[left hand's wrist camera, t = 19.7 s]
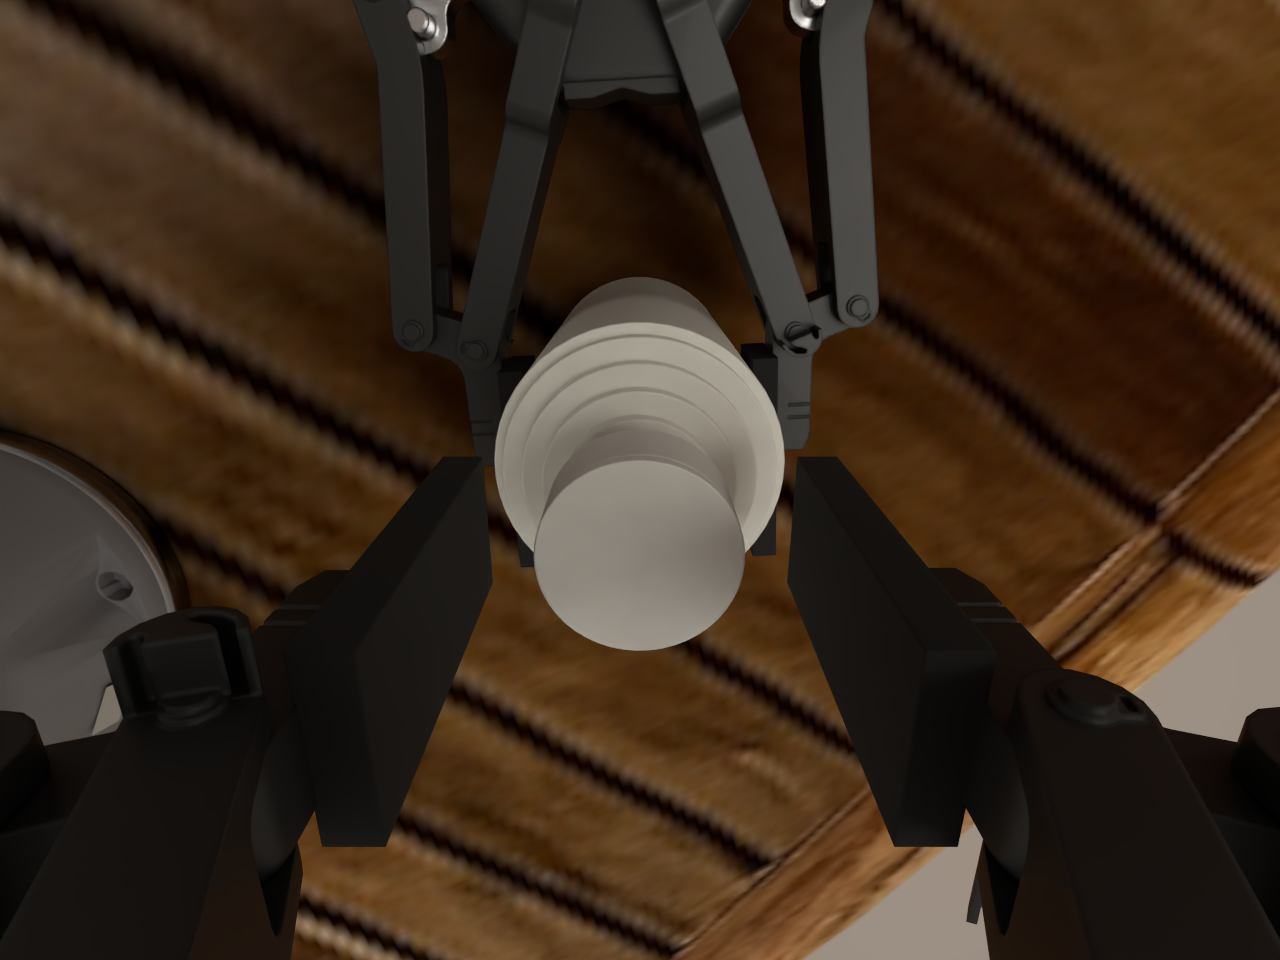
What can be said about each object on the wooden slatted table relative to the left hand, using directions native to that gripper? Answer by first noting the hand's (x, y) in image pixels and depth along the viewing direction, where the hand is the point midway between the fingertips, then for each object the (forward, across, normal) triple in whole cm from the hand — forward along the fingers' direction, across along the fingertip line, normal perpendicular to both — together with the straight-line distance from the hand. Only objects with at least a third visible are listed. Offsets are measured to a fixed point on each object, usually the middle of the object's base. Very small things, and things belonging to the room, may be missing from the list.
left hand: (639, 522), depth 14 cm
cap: (-1, 0, 0) cm, 1 cm away
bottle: (+16, 0, 0) cm, 16 cm away
